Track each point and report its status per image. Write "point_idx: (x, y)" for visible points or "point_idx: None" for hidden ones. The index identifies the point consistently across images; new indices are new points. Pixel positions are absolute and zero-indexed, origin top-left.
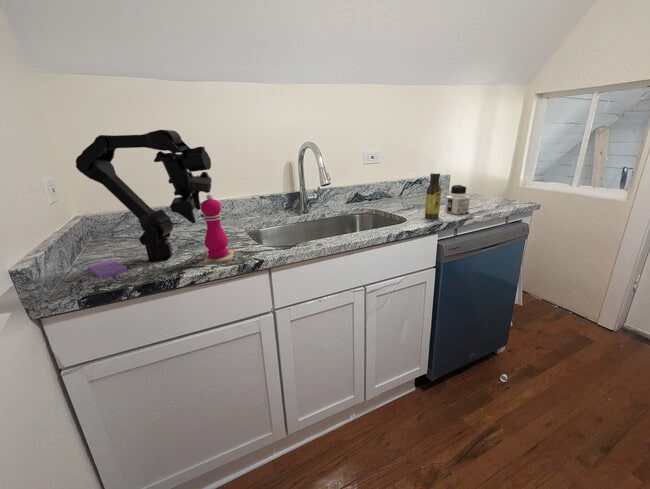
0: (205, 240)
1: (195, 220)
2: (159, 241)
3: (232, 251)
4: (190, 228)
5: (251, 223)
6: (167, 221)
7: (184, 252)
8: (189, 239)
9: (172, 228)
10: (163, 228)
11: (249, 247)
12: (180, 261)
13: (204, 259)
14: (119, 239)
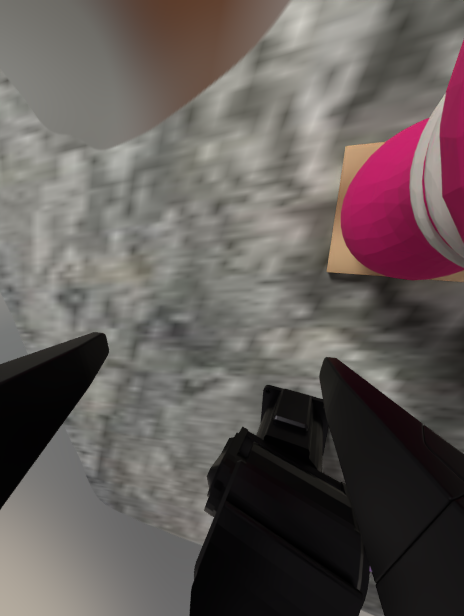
0: (456, 272)
1: (336, 366)
2: (321, 474)
3: (372, 146)
4: (51, 333)
5: (9, 138)
6: (266, 516)
7: (259, 351)
8: (136, 335)
9: (256, 449)
10: (349, 531)
11: (301, 69)
12: (362, 365)
13: (436, 278)
14: (111, 471)
